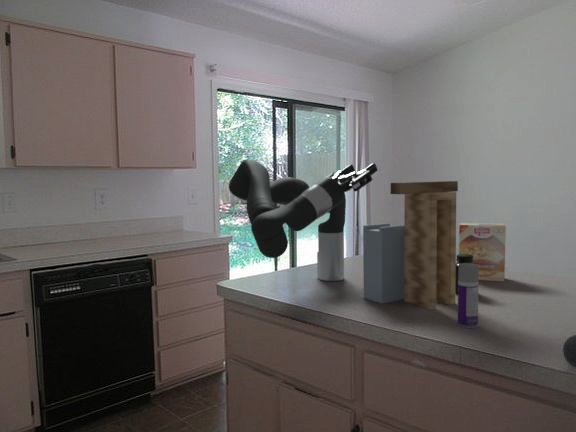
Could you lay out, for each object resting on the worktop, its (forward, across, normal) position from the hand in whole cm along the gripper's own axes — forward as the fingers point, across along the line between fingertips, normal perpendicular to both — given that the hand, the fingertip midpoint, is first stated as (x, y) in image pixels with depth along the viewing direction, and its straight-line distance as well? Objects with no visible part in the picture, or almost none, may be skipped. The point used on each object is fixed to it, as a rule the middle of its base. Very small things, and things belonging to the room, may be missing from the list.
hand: (363, 166), depth 118 cm
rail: (+15, +2, -16) cm, 22 cm away
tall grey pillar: (-4, -9, -42) cm, 44 cm away
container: (-6, +21, -42) cm, 47 cm away
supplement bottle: (+17, +2, -54) cm, 56 cm away
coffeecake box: (+36, -8, -64) cm, 74 cm away
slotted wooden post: (+2, +2, -46) cm, 46 cm away
